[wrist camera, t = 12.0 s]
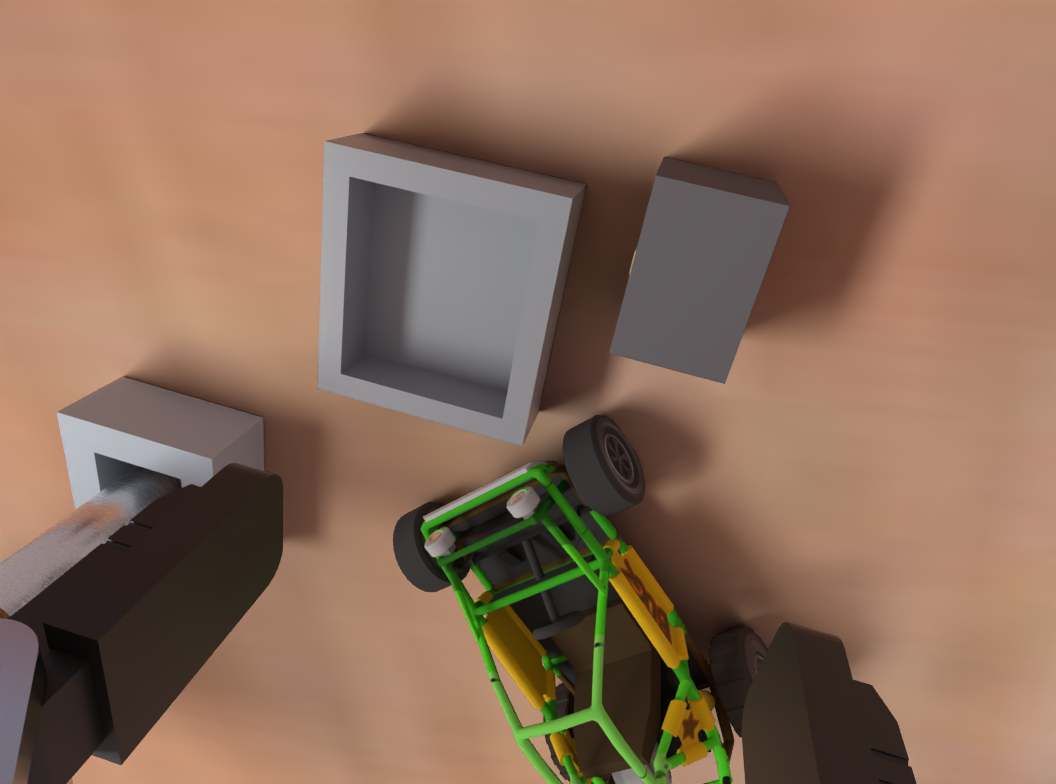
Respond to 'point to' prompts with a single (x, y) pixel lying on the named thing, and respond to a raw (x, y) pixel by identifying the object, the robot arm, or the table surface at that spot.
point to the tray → (441, 282)
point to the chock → (698, 268)
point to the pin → (78, 536)
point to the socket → (153, 436)
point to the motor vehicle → (582, 617)
